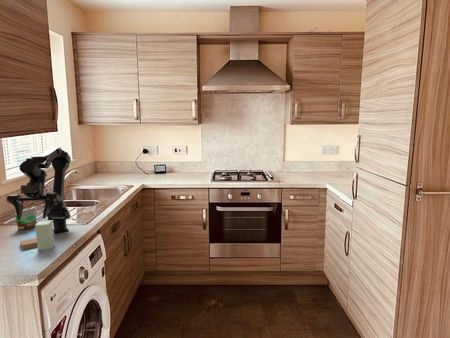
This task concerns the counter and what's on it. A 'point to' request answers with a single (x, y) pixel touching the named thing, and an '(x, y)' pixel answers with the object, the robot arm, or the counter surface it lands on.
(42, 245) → the sage block
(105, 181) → the counter surface
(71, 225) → the counter surface
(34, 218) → the food container
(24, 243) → the tan slab
